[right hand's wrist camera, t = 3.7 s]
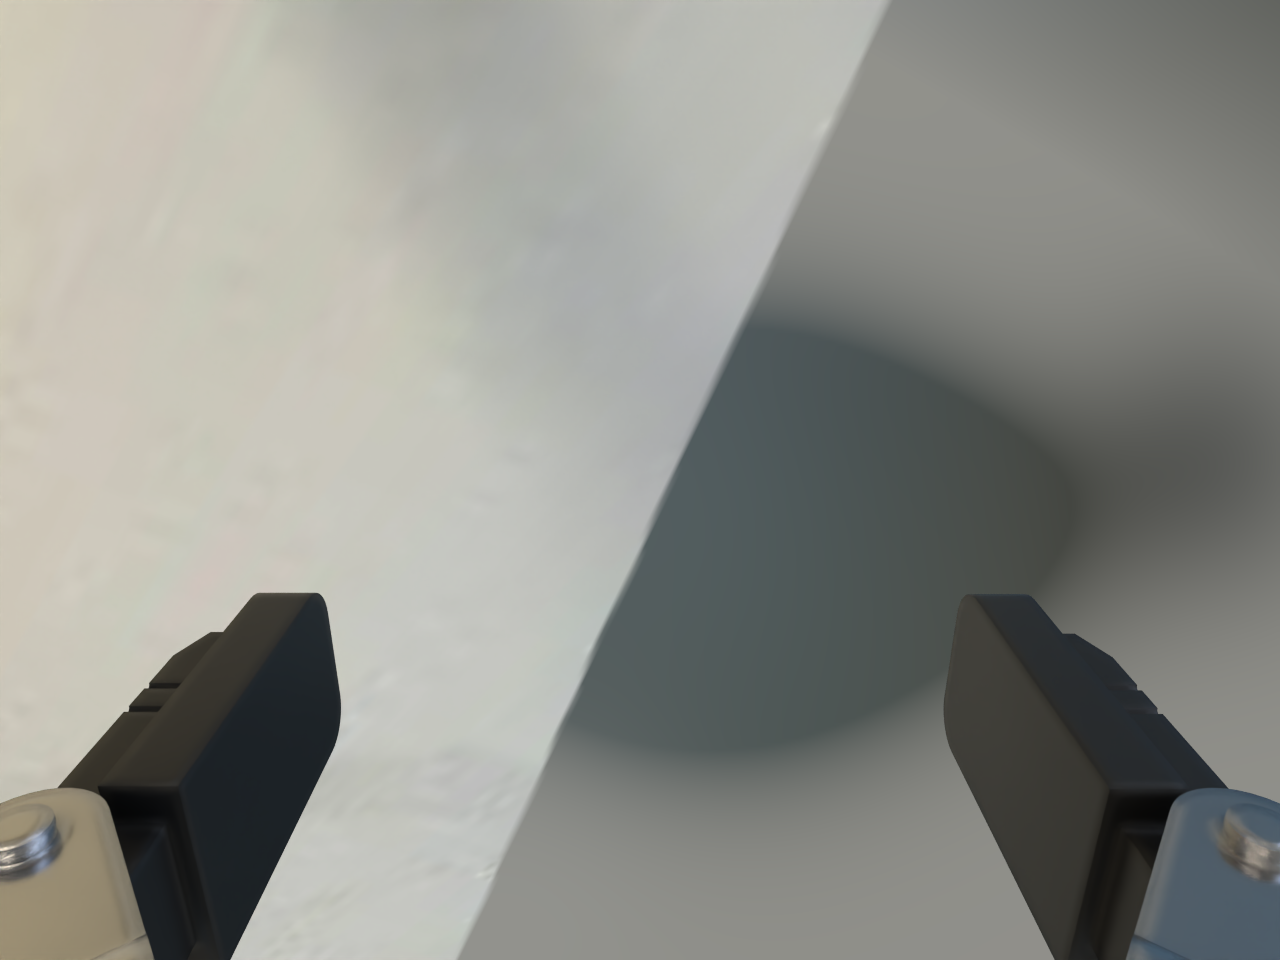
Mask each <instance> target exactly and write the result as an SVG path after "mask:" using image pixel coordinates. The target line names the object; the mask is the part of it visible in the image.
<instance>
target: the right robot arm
mask: <svg viewBox="0 0 1280 960" xmlns="http://www.w3.org/2000/svg"><path fill="white" fill-rule="evenodd" d="M340 717H341V699H340V691H339V684H338V678H337V671H336V664H335V657H334V651H333V644H332V637H331V631H330V624H329V617H328V611H327V607H326V603H325V601H324V599H323V597H322V596H321V595H320V594H319V593H257V594H255V595H254V596H253V597H252V598H251V599H250V600H249V601H248V602H247V604H246V605H245V606H244V607H243V609H242V610H241V611H240V612H239V613H238V615H237V616H236V617H235V618H234V620H233V621H232V622H231V623H230V624H229V626H228V627H227V628H226V629H225V631H224V632H210V633H209V634H207V635H205V636H204V637H202V638H201V639H199V640H197V641H196V642H194V643H193V644H191V645H189V646H188V647H186V648H185V649H183V650H181V651H180V652H178V653H177V654H175V655H173V656H172V658H171V659H170V660H169V661H168V662H167V663H166V664H165V666H164V667H163V668H162V669H161V670H160V671H159V672H158V674H157V675H156V676H155V677H154V678H153V679H152V680H151V682H150V683H149V689H144V690H143V691H142V692H141V693H140V694H139V695H138V696H137V698H136V699H135V700H134V701H133V702H132V703H131V704H130V706H129V712H123V714H122V715H121V716H120V717H119V718H118V719H117V720H116V722H115V723H114V724H113V725H112V726H111V727H110V728H109V730H108V731H107V732H106V733H105V734H104V735H103V736H102V738H101V739H100V740H99V741H98V742H97V743H96V744H95V746H94V747H93V748H92V749H91V750H90V751H89V752H88V754H87V755H86V756H85V757H84V758H83V759H82V760H81V762H80V763H79V764H78V765H77V766H76V767H75V768H74V770H73V771H72V772H71V773H70V774H69V775H68V776H67V778H66V779H65V780H64V781H63V782H62V783H61V784H60V786H59V787H58V788H55V789H48V790H42V791H37V792H33V793H29V794H25V795H22V796H19V797H16V798H13V799H10V800H8V801H5V802H3V803H0V960H230V959H231V957H232V955H233V953H234V951H235V949H236V947H237V945H238V943H239V941H240V939H241V937H242V935H243V933H244V931H245V929H246V927H247V925H248V923H249V920H250V918H251V916H252V914H253V912H254V910H255V908H256V906H257V904H258V902H259V900H260V898H261V896H262V894H263V892H264V890H265V888H266V886H267V884H268V882H269V880H270V878H271V876H272V873H273V871H274V869H275V867H276V865H277V863H278V861H279V859H280V857H281V855H282V853H283V851H284V849H285V847H286V845H287V843H288V841H289V839H290V837H291V835H292V833H293V831H294V829H295V826H296V824H297V822H298V820H299V818H300V816H301V814H302V812H303V810H304V808H305V806H306V804H307V802H308V800H309V798H310V796H311V794H312V792H313V790H314V788H315V786H316V784H317V782H318V779H319V777H320V775H321V773H322V771H323V769H324V767H325V765H326V763H327V761H328V759H329V757H330V755H331V753H332V751H333V749H334V746H335V743H336V740H337V736H338V732H339V726H340ZM944 723H945V730H946V735H947V740H948V743H949V746H950V749H951V751H952V753H953V755H954V757H955V759H956V761H957V763H958V765H959V767H960V769H961V771H962V774H963V775H964V778H965V780H966V782H967V784H968V786H969V788H970V790H971V792H972V794H973V796H974V798H975V800H976V802H977V804H978V806H979V808H980V810H981V812H982V814H983V816H984V818H985V820H986V822H987V824H988V826H989V828H990V830H991V832H992V834H993V836H994V838H995V840H996V842H997V844H998V846H999V848H1000V850H1001V852H1002V854H1003V856H1004V858H1005V860H1006V862H1007V864H1008V866H1009V868H1010V870H1011V872H1012V874H1013V876H1014V879H1015V881H1016V882H1017V884H1018V887H1019V889H1020V891H1021V893H1022V895H1023V897H1024V899H1025V901H1026V903H1027V905H1028V907H1029V909H1030V911H1031V913H1032V915H1033V917H1034V919H1035V921H1036V923H1037V925H1038V927H1039V929H1040V931H1041V933H1042V935H1043V937H1044V939H1045V941H1046V943H1047V945H1048V947H1049V949H1050V951H1051V953H1052V955H1053V957H1054V959H1055V960H1280V804H1279V803H1277V802H1275V801H1272V800H1270V799H1267V798H1264V797H1261V796H1258V795H1255V794H1251V793H1247V792H1243V791H1238V790H1232V789H1228V788H1227V786H1226V785H1225V784H1224V783H1223V782H1222V781H1221V780H1220V779H1219V777H1218V776H1217V775H1216V774H1215V773H1214V772H1213V771H1212V770H1211V768H1210V767H1209V766H1208V765H1207V764H1206V763H1205V762H1204V760H1203V759H1202V758H1201V757H1200V756H1199V755H1198V754H1197V752H1196V751H1195V750H1194V749H1193V748H1192V747H1191V746H1190V745H1189V743H1188V742H1187V741H1186V740H1185V739H1184V738H1183V737H1182V735H1181V734H1180V733H1179V732H1178V731H1177V730H1176V729H1175V728H1174V726H1173V725H1172V724H1171V723H1170V722H1169V721H1168V720H1167V719H1166V717H1165V716H1164V715H1163V714H1158V712H1157V707H1156V706H1155V705H1154V704H1153V703H1152V701H1151V700H1150V699H1149V698H1148V697H1147V696H1146V695H1145V694H1144V692H1143V691H1138V690H1137V685H1136V683H1135V682H1134V681H1133V680H1132V679H1131V678H1130V677H1129V675H1128V674H1127V673H1126V672H1125V671H1124V670H1123V669H1122V668H1121V666H1120V665H1119V664H1118V663H1117V662H1116V661H1115V660H1114V658H1113V657H1111V656H1110V655H1108V654H1106V653H1105V652H1103V651H1102V650H1100V649H1098V648H1097V647H1095V646H1093V645H1092V644H1090V643H1089V642H1087V641H1085V640H1084V639H1082V638H1081V637H1079V636H1077V635H1076V634H1062V633H1061V631H1060V630H1059V629H1058V628H1057V626H1056V625H1055V624H1054V623H1053V622H1052V620H1051V619H1050V618H1049V617H1048V616H1047V614H1046V613H1045V612H1044V611H1043V610H1042V608H1041V607H1040V606H1039V605H1038V603H1037V602H1036V601H1035V600H1034V599H1033V598H1032V597H1031V596H1029V595H1025V594H968V595H965V596H964V597H963V599H962V600H961V602H960V604H959V608H958V612H957V617H956V624H955V630H954V637H953V644H952V650H951V657H950V664H949V670H948V677H947V683H946V690H945V697H944Z"/></svg>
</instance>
